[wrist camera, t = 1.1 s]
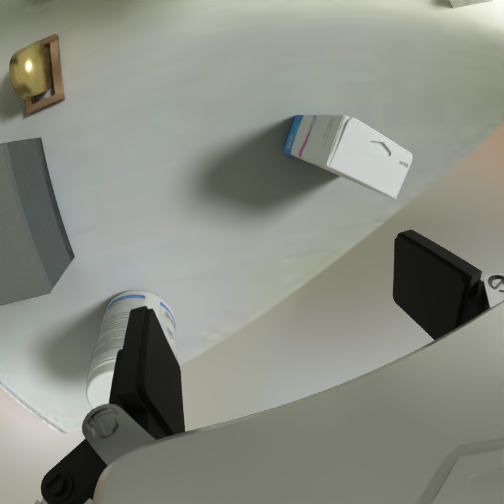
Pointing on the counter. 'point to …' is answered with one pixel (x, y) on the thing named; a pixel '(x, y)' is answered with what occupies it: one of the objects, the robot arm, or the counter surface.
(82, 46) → the counter surface
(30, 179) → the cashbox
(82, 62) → the counter surface
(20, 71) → the coin
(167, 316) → the supplement tub
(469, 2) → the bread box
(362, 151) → the ink box
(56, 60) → the cradle
